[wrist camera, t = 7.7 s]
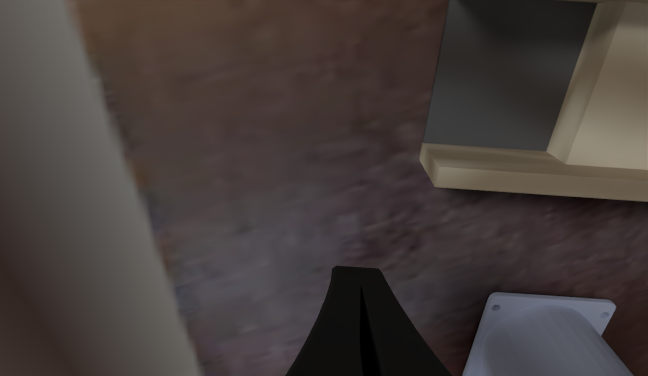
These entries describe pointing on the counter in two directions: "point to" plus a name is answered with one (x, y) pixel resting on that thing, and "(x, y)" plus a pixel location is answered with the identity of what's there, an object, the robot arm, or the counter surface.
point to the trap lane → (541, 99)
